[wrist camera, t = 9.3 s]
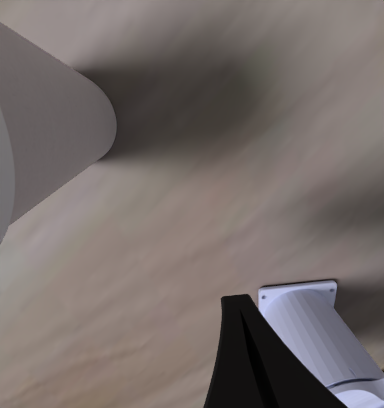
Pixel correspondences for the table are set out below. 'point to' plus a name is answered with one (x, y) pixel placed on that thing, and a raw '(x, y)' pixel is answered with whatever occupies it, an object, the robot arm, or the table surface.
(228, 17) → the table surface
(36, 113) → the coffee cup
